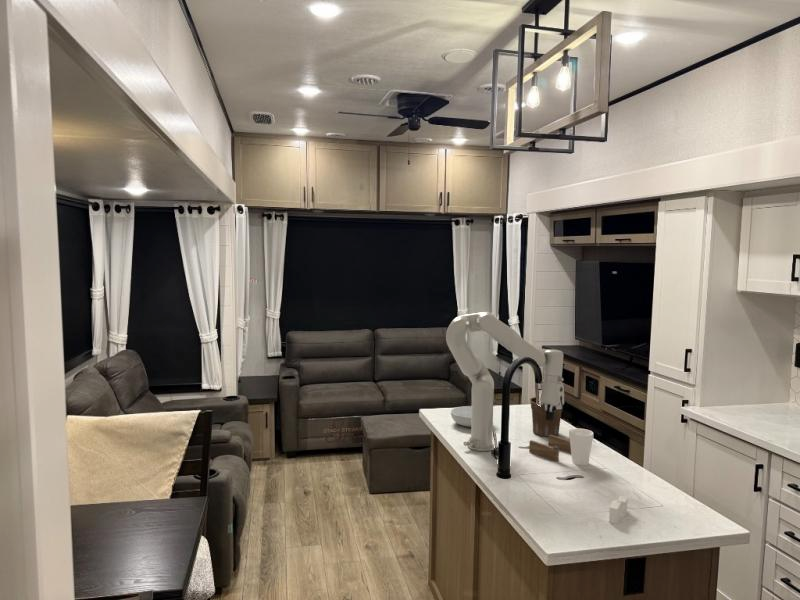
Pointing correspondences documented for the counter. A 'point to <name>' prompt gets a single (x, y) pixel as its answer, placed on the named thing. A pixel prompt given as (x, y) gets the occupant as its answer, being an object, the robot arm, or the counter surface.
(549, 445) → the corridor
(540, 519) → the counter surface
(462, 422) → the serving bowl
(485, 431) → the robot arm
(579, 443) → the foam cup
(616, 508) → the napkin holder
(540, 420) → the plant pot
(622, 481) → the counter surface
